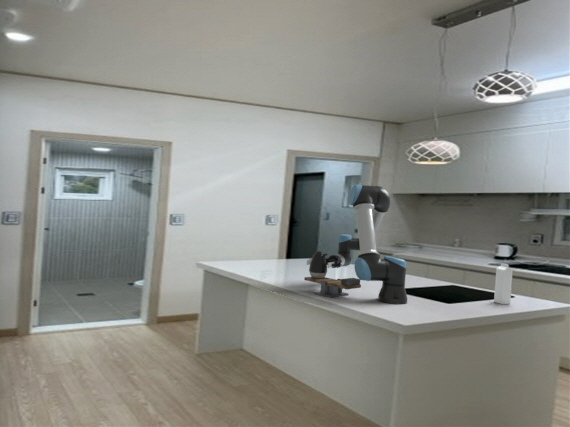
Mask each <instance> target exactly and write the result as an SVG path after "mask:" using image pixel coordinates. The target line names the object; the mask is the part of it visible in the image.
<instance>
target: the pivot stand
mask: <svg viewBox="0 0 570 427" xmlns="http://www.w3.org/2000/svg"><path fill="white" fill-rule="evenodd" d="M341 279H342V278H336V280H341ZM313 294H314V295H317V296H321V297H326V298H330V299H333V298H339V297H340V296H341V297H346V296H349V293H347V292H344V291H343V288H338V287H334V286H329V285H327V281H323V280H322V281H321V284H320V291H314V292H313Z"/></svg>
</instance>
